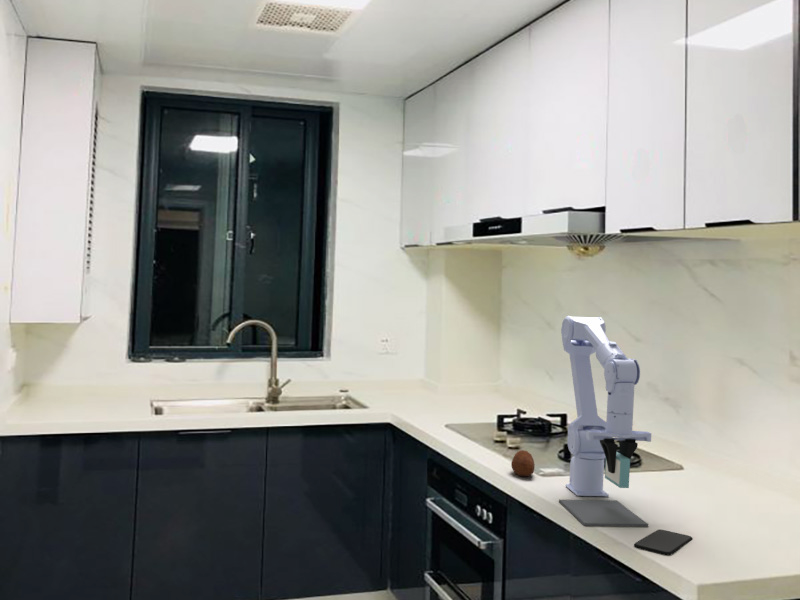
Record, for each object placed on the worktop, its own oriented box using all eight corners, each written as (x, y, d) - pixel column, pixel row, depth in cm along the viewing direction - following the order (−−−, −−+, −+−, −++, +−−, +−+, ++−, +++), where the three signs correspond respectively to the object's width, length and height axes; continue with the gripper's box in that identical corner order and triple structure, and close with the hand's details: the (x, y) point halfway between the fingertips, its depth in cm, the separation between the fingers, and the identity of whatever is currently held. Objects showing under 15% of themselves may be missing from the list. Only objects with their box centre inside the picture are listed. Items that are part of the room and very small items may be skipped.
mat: (558, 502, 184) (559, 499, 184) (616, 503, 185) (616, 500, 185) (584, 525, 166) (584, 523, 166) (648, 526, 167) (648, 524, 167)
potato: (517, 480, 203) (518, 455, 203) (506, 469, 215) (507, 446, 215) (539, 480, 204) (541, 455, 204) (527, 469, 216) (528, 446, 215)
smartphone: (694, 536, 161) (669, 553, 149) (694, 541, 161) (669, 558, 149) (658, 528, 165) (632, 543, 154) (658, 532, 165) (631, 548, 154)
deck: (604, 477, 182) (605, 450, 182) (613, 477, 182) (614, 450, 182) (619, 487, 173) (621, 459, 173) (628, 488, 174) (630, 459, 173)
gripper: (595, 414, 173) (592, 476, 173) (658, 416, 174) (655, 477, 175) (584, 409, 180) (581, 468, 180) (644, 410, 181) (641, 469, 182)
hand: (616, 472), depth 178 cm, fingers closed on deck, 2 cm apart
